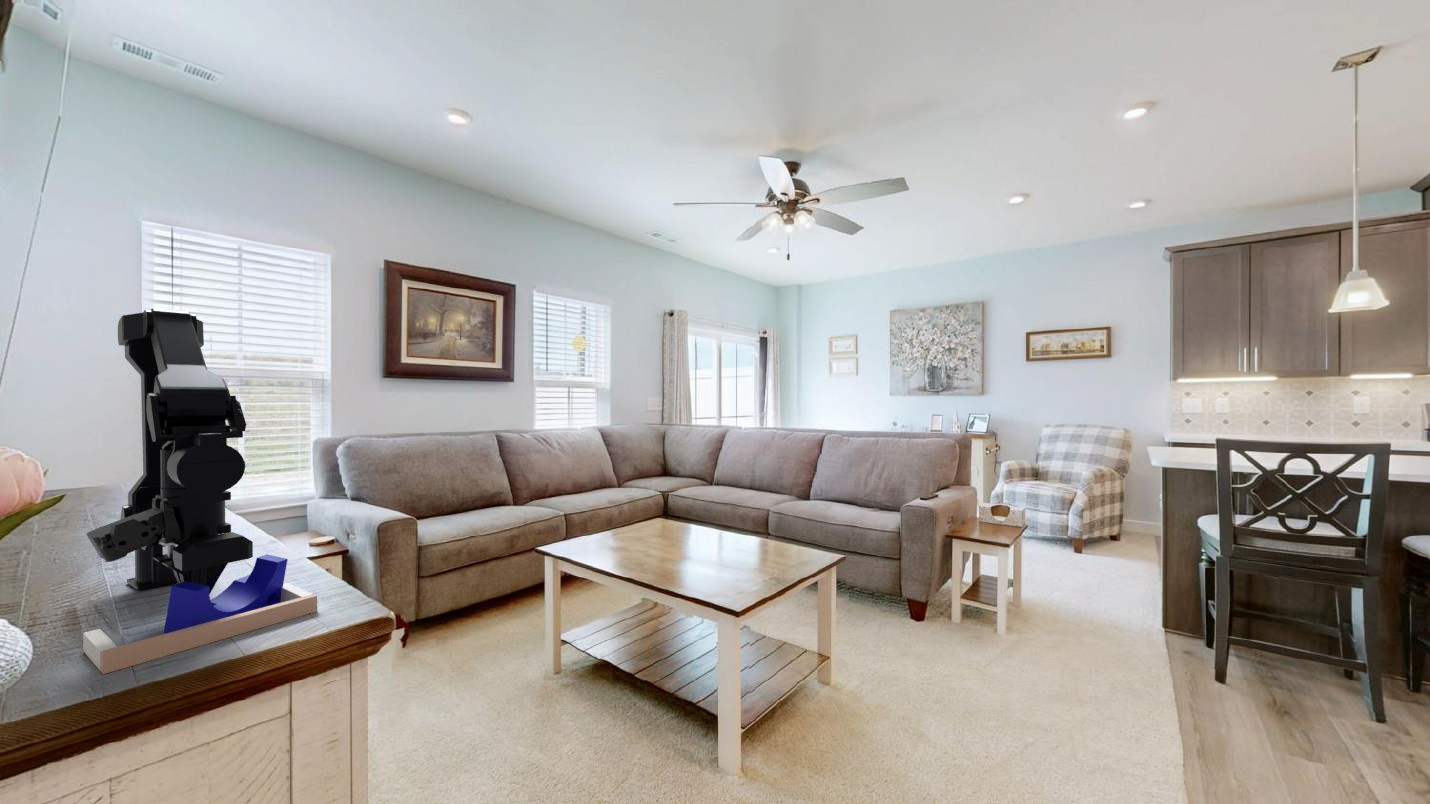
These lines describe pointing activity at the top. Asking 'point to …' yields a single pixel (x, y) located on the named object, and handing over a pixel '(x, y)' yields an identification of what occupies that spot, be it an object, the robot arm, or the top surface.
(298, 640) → the top surface
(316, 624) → the top surface
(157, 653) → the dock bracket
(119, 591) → the top surface
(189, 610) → the blue half clamp
